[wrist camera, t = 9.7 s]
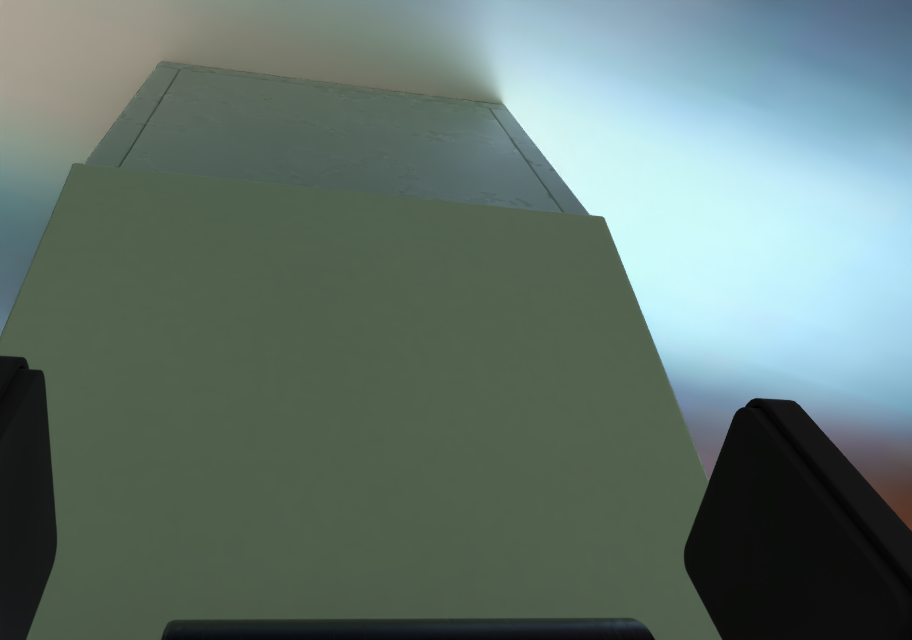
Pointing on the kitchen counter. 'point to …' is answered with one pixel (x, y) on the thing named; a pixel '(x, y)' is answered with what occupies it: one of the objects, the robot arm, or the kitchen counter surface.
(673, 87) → the kitchen counter surface
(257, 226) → the green box lid
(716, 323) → the kitchen counter surface
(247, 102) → the green box
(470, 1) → the kitchen counter surface
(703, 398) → the kitchen counter surface
